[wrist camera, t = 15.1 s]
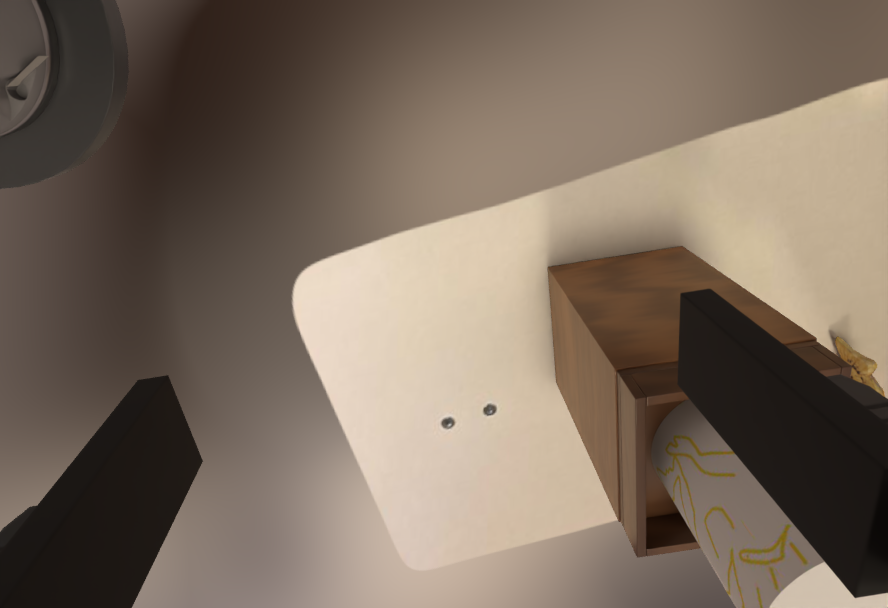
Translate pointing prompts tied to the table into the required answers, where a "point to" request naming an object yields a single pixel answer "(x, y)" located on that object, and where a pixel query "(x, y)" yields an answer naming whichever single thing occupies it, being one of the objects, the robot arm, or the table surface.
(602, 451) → the stand
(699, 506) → the white patterned cylinder
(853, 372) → the pastry
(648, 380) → the holder
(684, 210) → the table surface
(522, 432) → the table surface
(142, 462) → the robot arm
